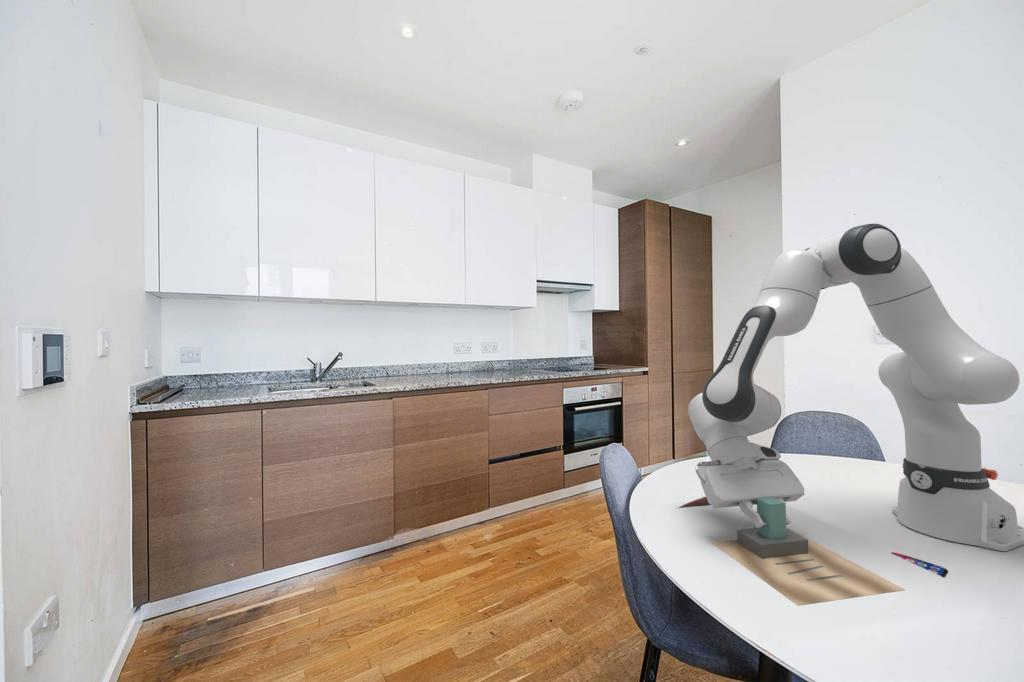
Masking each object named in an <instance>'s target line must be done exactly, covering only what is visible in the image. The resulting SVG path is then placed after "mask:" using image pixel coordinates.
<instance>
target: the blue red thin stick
mask: <svg viewBox="0 0 1024 682" xmlns="http://www.w3.org/2000/svg"><path fill="white" fill-rule="evenodd" d="M890 554H891V555H894V556H896V557H898V558H900V559H902V560H905V561H907V562H909V563H911V564H913V565H916V566H918V567H920V568H921V569H924V570H925V571H929V572H931V573H933V574H935V575H937V576H939V577H942V578H945V577H946V576H947V574H948V573H949V570H948V569H947V568H946V567H944V566H941V565H937V564H935V563H932V562H931V563H930V562H927V561H926V560H921V559H918V558H915V557H912V556H908V555H906V554H902V553H899V552H890Z"/></svg>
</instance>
